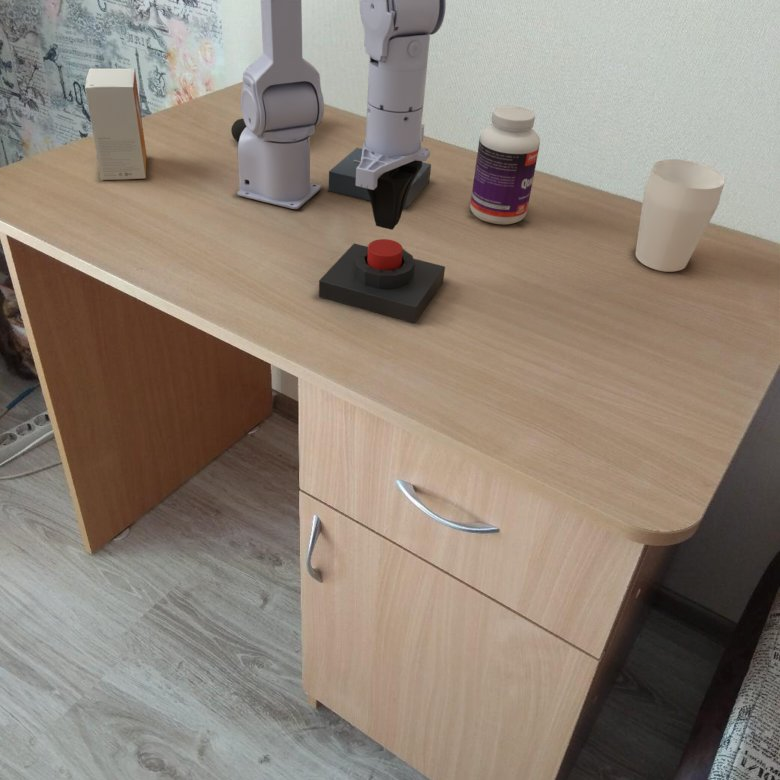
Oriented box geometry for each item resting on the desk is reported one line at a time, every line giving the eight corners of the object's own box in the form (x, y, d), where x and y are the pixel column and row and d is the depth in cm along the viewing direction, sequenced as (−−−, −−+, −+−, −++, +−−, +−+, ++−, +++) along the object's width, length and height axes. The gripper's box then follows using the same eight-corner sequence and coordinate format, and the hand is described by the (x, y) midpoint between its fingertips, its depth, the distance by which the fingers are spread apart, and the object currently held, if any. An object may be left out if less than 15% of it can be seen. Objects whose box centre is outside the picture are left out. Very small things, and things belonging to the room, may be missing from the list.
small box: (147, 179, 111) (133, 86, 103) (100, 181, 110) (83, 87, 101) (147, 156, 117) (135, 67, 109) (103, 157, 116) (87, 67, 108)
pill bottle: (523, 231, 106) (543, 128, 97) (465, 222, 107) (480, 119, 98) (527, 206, 112) (546, 106, 103) (472, 198, 113) (487, 98, 104)
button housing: (318, 296, 90) (318, 266, 88) (353, 258, 98) (354, 229, 95) (415, 323, 87) (418, 293, 85) (443, 282, 95) (447, 253, 92)
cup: (696, 251, 105) (726, 167, 97) (694, 283, 98) (726, 195, 91) (629, 237, 107) (653, 153, 99) (622, 267, 100) (648, 180, 93)
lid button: (361, 266, 89) (362, 250, 88) (375, 251, 92) (375, 235, 91) (393, 275, 88) (395, 259, 87) (406, 259, 91) (407, 243, 90)
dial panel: (328, 190, 112) (328, 170, 110) (356, 166, 119) (357, 146, 117) (405, 209, 109) (407, 188, 107) (429, 183, 116) (431, 162, 114)
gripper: (407, 133, 72) (396, 261, 81) (455, 89, 83) (441, 206, 91) (337, 119, 74) (335, 246, 83) (393, 77, 85) (385, 193, 93)
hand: (386, 224), depth 87 cm, fingers closed
